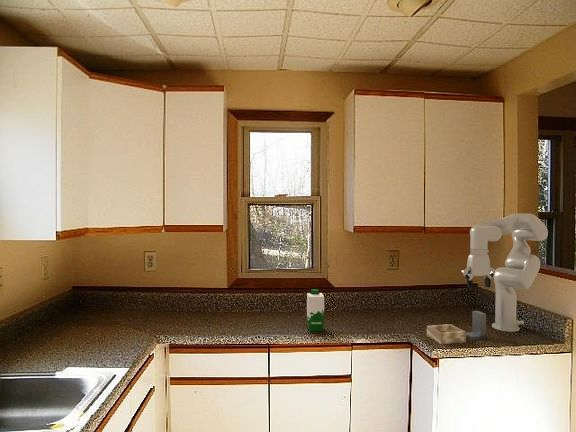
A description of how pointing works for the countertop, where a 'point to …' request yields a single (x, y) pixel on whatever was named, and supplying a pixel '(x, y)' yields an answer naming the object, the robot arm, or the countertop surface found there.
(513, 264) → the robot arm
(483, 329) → the steel L-bracket
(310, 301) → the milk carton
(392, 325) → the countertop surface
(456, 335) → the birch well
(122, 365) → the countertop surface
